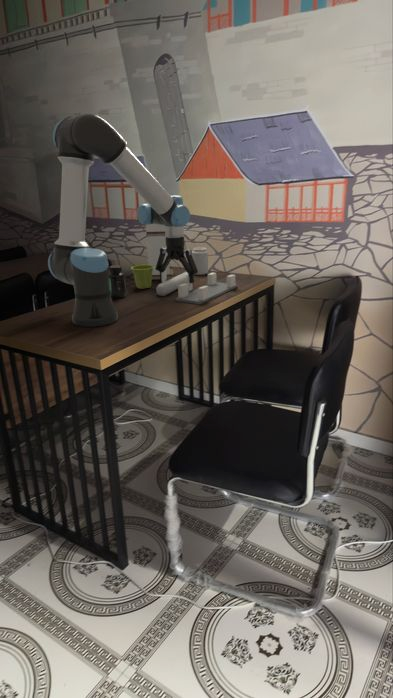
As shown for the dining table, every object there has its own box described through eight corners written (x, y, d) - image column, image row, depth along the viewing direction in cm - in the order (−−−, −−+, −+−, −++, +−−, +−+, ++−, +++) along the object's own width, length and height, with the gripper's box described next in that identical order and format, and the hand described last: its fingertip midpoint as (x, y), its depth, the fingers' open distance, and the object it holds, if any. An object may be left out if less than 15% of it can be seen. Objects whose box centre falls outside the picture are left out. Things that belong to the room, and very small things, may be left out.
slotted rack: (175, 300, 189) (175, 286, 187) (214, 284, 212) (214, 271, 210) (200, 304, 183) (199, 289, 181) (237, 287, 207) (237, 273, 205)
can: (192, 272, 236) (192, 247, 232) (208, 272, 236) (208, 246, 231) (191, 275, 229) (191, 249, 225) (208, 275, 229) (207, 249, 224)
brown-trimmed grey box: (172, 278, 224) (169, 198, 212) (149, 279, 224) (144, 198, 211) (173, 273, 235) (170, 196, 222) (150, 274, 235) (146, 197, 222)
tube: (166, 287, 193) (194, 274, 214) (155, 282, 194) (184, 269, 215) (163, 300, 195) (191, 285, 216) (152, 294, 197) (181, 280, 218)
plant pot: (151, 290, 205) (150, 269, 202) (129, 289, 207) (128, 269, 204) (157, 284, 214) (156, 264, 211) (136, 284, 215) (134, 264, 212)
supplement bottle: (109, 299, 193) (106, 268, 189) (108, 294, 199) (106, 265, 195) (126, 298, 194) (124, 267, 190) (125, 293, 201) (123, 264, 196)
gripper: (205, 236, 194) (206, 290, 202) (155, 233, 206) (158, 284, 214) (195, 239, 188) (197, 294, 196) (144, 235, 200) (148, 287, 208)
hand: (177, 289), depth 205 cm, fingers open, 12 cm apart
